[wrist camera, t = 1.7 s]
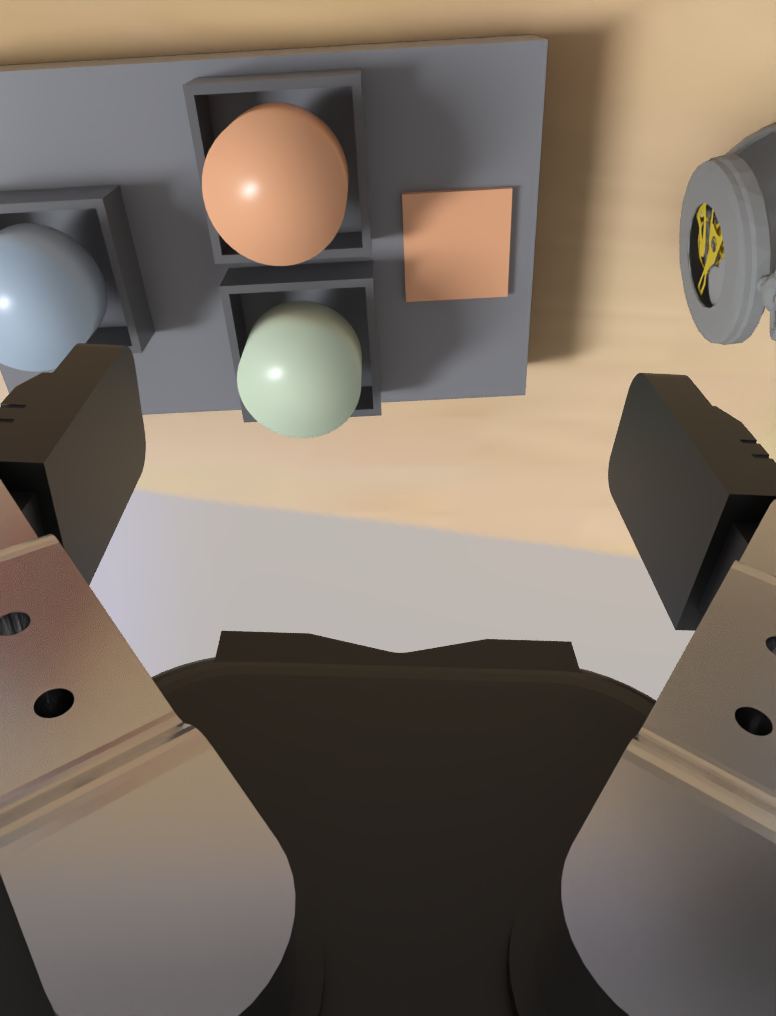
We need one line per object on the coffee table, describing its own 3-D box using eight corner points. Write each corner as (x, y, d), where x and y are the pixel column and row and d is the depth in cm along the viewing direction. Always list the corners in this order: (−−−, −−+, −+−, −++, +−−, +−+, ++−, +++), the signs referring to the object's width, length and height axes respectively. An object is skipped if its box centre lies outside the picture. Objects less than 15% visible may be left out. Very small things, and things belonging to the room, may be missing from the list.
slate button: (87, 219, 25) (64, 239, 23) (121, 341, 28) (101, 368, 26) (-40, 226, 25) (-74, 247, 23) (4, 347, 28) (-23, 375, 26)
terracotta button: (342, 98, 23) (340, 109, 21) (353, 241, 26) (352, 262, 24) (203, 106, 23) (188, 117, 21) (228, 248, 26) (216, 269, 24)
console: (532, 34, 27) (561, 44, 23) (514, 365, 34) (533, 418, 30) (-68, 69, 27) (-147, 85, 23) (44, 389, 35) (0, 445, 31)
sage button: (357, 297, 27) (356, 321, 25) (365, 404, 30) (365, 434, 28) (237, 303, 27) (226, 328, 25) (255, 410, 30) (247, 441, 28)
